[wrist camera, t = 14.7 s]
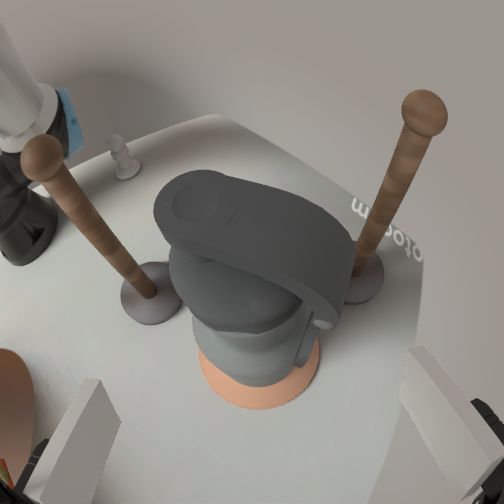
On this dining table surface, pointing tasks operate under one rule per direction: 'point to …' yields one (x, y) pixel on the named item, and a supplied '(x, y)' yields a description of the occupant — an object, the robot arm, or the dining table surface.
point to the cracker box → (5, 474)
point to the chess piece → (122, 158)
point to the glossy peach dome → (260, 395)
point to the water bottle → (253, 271)
